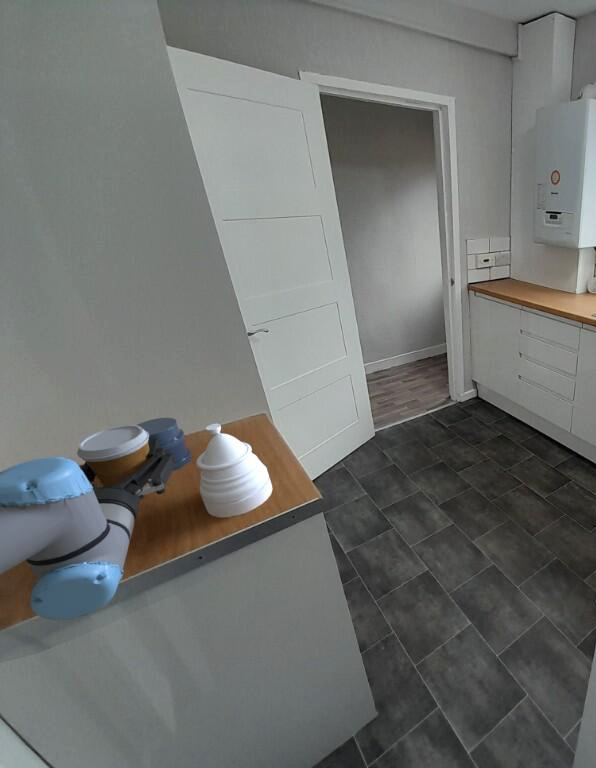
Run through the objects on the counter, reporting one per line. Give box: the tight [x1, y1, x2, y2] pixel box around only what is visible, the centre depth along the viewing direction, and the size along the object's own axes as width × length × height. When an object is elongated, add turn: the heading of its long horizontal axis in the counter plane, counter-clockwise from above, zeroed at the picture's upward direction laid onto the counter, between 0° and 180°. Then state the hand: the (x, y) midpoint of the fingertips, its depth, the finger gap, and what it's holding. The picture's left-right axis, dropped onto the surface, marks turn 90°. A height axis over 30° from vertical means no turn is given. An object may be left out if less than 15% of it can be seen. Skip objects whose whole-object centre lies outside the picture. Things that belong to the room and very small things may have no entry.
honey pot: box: [196, 423, 273, 518], centre depth 89 cm, size 13×13×18 cm
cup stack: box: [136, 417, 193, 472], centre depth 102 cm, size 10×10×11 cm
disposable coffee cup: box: [76, 424, 149, 497], centre depth 75 cm, size 10×10×12 cm
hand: (127, 450), depth 78 cm, fingers closed on disposable coffee cup, 8 cm apart
